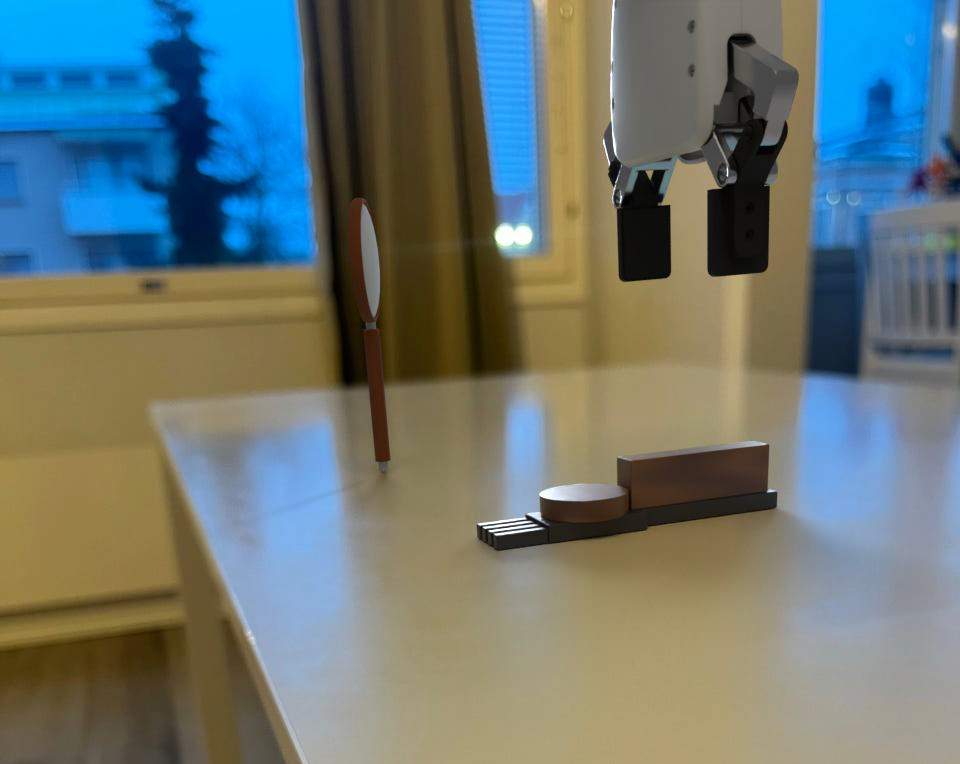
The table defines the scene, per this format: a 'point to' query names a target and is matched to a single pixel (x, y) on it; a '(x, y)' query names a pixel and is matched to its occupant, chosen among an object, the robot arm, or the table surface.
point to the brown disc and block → (663, 482)
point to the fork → (615, 521)
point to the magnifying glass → (369, 318)
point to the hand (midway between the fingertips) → (687, 277)
